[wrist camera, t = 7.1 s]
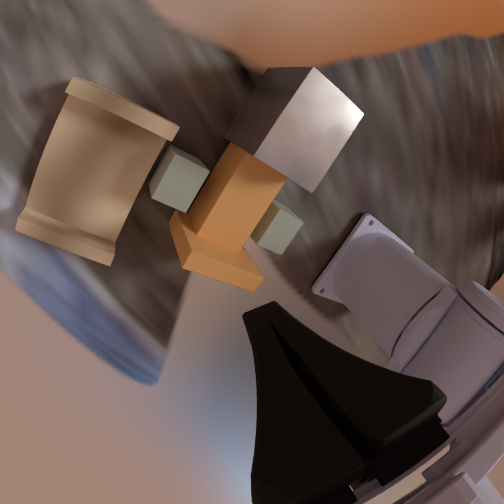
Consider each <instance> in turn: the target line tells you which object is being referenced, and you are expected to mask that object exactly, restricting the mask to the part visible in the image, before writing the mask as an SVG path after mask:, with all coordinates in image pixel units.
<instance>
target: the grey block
mask: <svg viewBox="0 0 504 504" xmlns="http://www.w3.org/2000/svg"><path fill="white" fill-rule="evenodd" d="M363 115H364V113H363V112H362V111H361V110H360V109H359V108H358V107H357V106H356V105H355V104H354V103H353V102H352V101H351V100H349V99H348V98H347V97H346V96H345V95H344V94H343V93H342V92H341V91H340V90H339V89H338V88H337V87H336V86H335V85H334V84H332V83H331V82H330V81H329V80H328V79H327V78H326V77H325V76H324V75H322V74H321V73H320V72H319V71H318V70H317V69H316V68H314V67H270V68H268V69H267V71H266V72H265V74H264V75H263V76H262V78H261V79H260V81H259V82H258V84H257V85H256V87H255V88H254V89H253V91H252V92H251V94H250V95H249V97H248V98H247V100H246V101H245V103H244V104H243V106H242V107H241V109H240V110H239V112H238V113H237V115H236V116H235V118H234V120H233V121H232V123H231V124H230V126H229V127H228V129H227V130H226V132H225V134H224V135H223V137H224V138H226V139H227V140H229V141H231V142H232V143H234V144H235V145H237V146H239V147H240V148H242V149H243V150H245V151H246V152H248V153H249V154H251V155H253V156H254V157H256V158H257V159H259V160H261V161H262V162H264V163H266V164H267V165H269V166H270V167H272V168H274V169H275V170H277V171H278V172H280V173H282V174H283V175H285V176H286V177H288V178H290V179H291V180H293V181H294V182H296V183H297V184H299V185H300V186H302V187H303V188H305V189H306V190H308V191H310V192H311V193H313V191H314V190H315V188H316V187H317V185H318V184H319V182H320V181H321V179H322V178H323V176H324V175H325V173H326V172H327V170H328V169H329V167H330V166H331V164H332V163H333V161H334V160H335V158H336V157H337V155H338V154H339V152H340V151H341V149H342V147H343V146H344V144H345V143H346V141H347V140H348V138H349V137H350V135H351V134H352V132H353V131H354V129H355V128H356V126H357V124H358V123H359V121H360V120H361V118H362V117H363Z"/></svg>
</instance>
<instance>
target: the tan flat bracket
mask: <svg viewBox="0 0 504 504" xmlns="http://www.w3.org/2000/svg"><path fill="white" fill-rule="evenodd" d="M65 92H66V93H68V94H69V95H68V97H67V99H66V101H65V103H64V105H63V108H62V110H61V112H60V114H59V116H58V118H57V121H56V123H55V125H54V127H53V130H52V132H51V134H50V137H49V139H48V142H47V144H46V147H45V149H44V152H43V154H42V157H41V160H40V163H39V165H38V168H37V171H36V174H35V177H34V180H33V183H32V186H31V189H30V192H29V196H28V199H27V202H26V206H25V208H24V209H23V211H22V212H21V214H20V215H19V217H18V220H17V224H16V228H15V230H16V231H18V232H20V233H23V234H25V235H28V236H30V237H33V238H35V239H38V240H40V241H43V242H45V243H48V244H51V245H53V246H56V247H58V248H61V249H64V250H66V251H69V252H72V253H74V254H77V255H80V256H82V257H85V258H88V259H91V260H93V261H96V262H99V263H102V264H105V265H107V266H110V265H111V263H112V260H113V258H114V256H115V242H116V240H117V238H118V235H119V233H120V231H121V229H122V226H123V224H124V222H125V220H126V218H127V216H128V214H129V211H130V209H131V207H132V205H133V203H134V201H135V199H136V197H137V195H138V193H139V191H140V189H141V187H142V185H143V183H144V181H145V179H146V177H147V175H148V173H149V172H150V170H151V168H152V166H153V164H154V162H155V160H156V159H157V157H158V155H159V153H160V151H161V150H162V148H163V146H164V144H165V142H166V141H167V140H169V141H171V142H172V140H173V139H174V137H175V135H176V133H177V132H178V130H179V128H180V127H179V126H178V125H177V124H176V123H175V122H173V121H171V120H169V119H167V118H165V117H163V116H161V115H159V114H157V113H155V112H153V111H151V110H149V109H147V108H145V107H143V106H141V105H139V104H137V103H135V102H133V101H131V100H129V99H127V98H125V97H122V96H120V95H118V94H116V93H114V92H112V91H110V90H107V89H105V88H103V87H101V86H99V85H96V84H94V83H92V82H90V81H87V80H85V79H83V78H80V77H72V79H71V81H70V83H69V85H68V87H67V89H66V91H65Z"/></svg>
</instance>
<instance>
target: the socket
mask: <svg viewBox="0 0 504 504" xmlns="http://www.w3.org/2000/svg"><path fill="white" fill-rule="evenodd" d="M209 172H210V171H209V170H208V168H207V167H206V166H205V165H204V164H203V163H202V162H201V160H200V159H198V158H196V157H194V156H192V155H190V154H188V153H186V152H184V151H182V150H180V149H178V148H176V147H174V146H172V145H170V144H169V146H168V148H167V149H166V151H165V153H164V155H163V157H162V158H161V160H160V162H159V164H158V166H157V168H156V169H155V171H154V173H153V175H152V177H151V179H150V181H149V187H150V193H151V198H152V199H154V200H157V201H159V202H161V203H164V204H166V205H168V206H171V207H173V208H175V209H177V210H180V211H182V212H184V213H186V212H187V210H188V208H189V206H190V205H191V203H192V201H193V200H194V198H195V196H196V194H197V193H198V191H199V189H200V187H201V186H202V184H203V182H204V181H205V179H206V177H207V176H208V174H209ZM303 223H304V222H303V221H302V220H301V219H300V218H298V217H297V216H296V215H295V214H294V213H293V212H292V211H290V210H289V209H288V208H287V207H286V206H284V205H283V204H281V203H279V202H277V201H276V200H274V199H273V201H272V202H271V204H270V205H269V207H268V209H267V210H266V212H265V213H264V215H263V216H262V218H261V219H260V221H259V222H258V224H257V225H256V227H255V229H254V230H253V232H252V233H251V235H250V236H251V237H252V239H253V240H254V241H255V243H256V244H257V245H259V246H262V247H264V248H266V249H268V250H271V251H273V252H275V253H277V254H280V255H282V254H283V252H284V251H285V249H286V248H287V246H288V245H289V243H290V242H291V240H292V239H293V238H294V236H295V235H296V233H297V232H298V230H299V229H300V227H301V226H302V224H303Z"/></svg>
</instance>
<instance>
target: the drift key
mask: <svg viewBox="0 0 504 504" xmlns="http://www.w3.org/2000/svg"><path fill="white" fill-rule="evenodd" d="M287 178H288V177H286V176H285V175H283V174H282V173H280V172H278V171H277V170H275V169H274V168H272V167H270V166H269V165H267V164H266V163H264V162H262V161H261V160H259V159H257V158H256V157H254V156H253V155H251V154H249V153H248V152H246V151H245V150H243V149H242V148H240V147H239V146H237V145H235V144H234V143H232V142H230V144H229V145H228V147H227V148H226V150H225V151H224V153H223V155H222V156H221V158H220V160H219V161H218V163H217V164H216V166H215V168H214V169H213V171H212V173H211V174H210V176H209V178H208V179H207V181H206V183H205V184H204V186H203V188H202V190H201V191H200V193H199V195H198V196H197V198H196V200H195V202H194V203H193V205H192V207H191V209H190V210H189V212H188V214H187V213H184V212H182V211H180V210H177V209H176V210H175V212H174V213H173V215H172V217H171V219H170V221H169V223H168V224H169V227H170V230H171V234H172V237H173V240H174V244H175V247H176V250H177V254H178V257H179V260H180V263H181V266H182V268H183V269H186V270H189V271H192V272H195V273H198V274H201V275H204V276H206V277H210V278H212V279H215V280H218V281H221V282H224V283H227V284H230V285H233V286H236V287H239V288H242V289H245V290H248V291H251V292H255V291H256V290H257V288H258V287H259V285H260V284H261V283H262V281H263V280H264V276H263V275H262V273H261V272H260V270H259V269H258V268H257V266H256V265H255V263H254V262H253V260H252V259H251V257H250V256H249V255H248V253H247V251H246V250H245V249H244V247H243V245H244V244H245V242H246V241H247V239H248V238H249V236H250V235H251V233H252V232H253V230H254V229H255V227H256V225H257V224H258V222H259V221H260V219H261V218H262V216H263V215H264V213H265V212H266V210H267V209H268V207H269V205H270V204H271V202H272V201H273V199H274V198H275V196H276V195H277V193H278V192H279V190H280V189H281V187H282V186H283V184H284V182H285V181H286V179H287Z"/></svg>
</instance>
